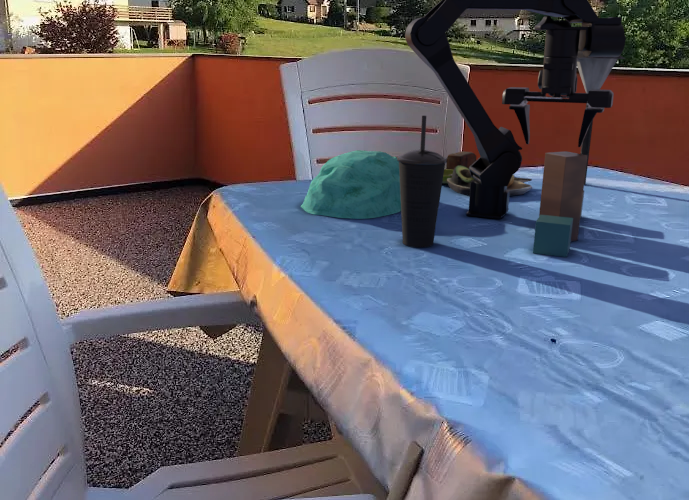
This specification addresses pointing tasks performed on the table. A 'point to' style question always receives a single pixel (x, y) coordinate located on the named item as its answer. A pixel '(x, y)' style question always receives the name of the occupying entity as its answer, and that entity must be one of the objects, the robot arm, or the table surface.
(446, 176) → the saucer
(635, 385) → the table surface
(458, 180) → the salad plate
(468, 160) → the brick
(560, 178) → the walnut block
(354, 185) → the decorative stone
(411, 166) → the drinking cup
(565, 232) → the cube near
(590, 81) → the solar garden light
